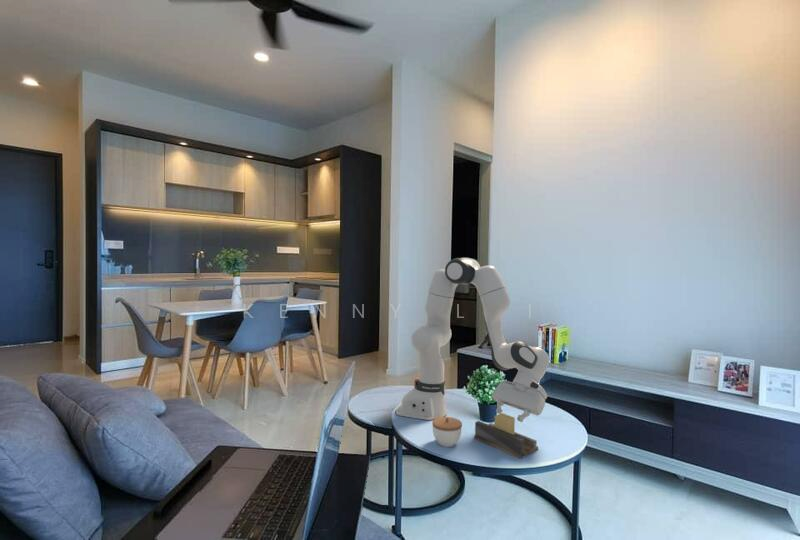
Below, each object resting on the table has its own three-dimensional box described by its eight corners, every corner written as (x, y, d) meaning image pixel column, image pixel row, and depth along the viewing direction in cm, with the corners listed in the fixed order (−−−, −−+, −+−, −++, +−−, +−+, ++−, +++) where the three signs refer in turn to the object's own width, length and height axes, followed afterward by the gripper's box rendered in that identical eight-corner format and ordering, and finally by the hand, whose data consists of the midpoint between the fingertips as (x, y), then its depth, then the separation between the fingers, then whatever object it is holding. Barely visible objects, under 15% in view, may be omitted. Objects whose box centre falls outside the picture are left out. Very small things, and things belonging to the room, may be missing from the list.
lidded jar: (455, 452, 141) (455, 425, 141) (427, 445, 146) (427, 419, 146) (465, 440, 150) (466, 415, 150) (439, 434, 155) (439, 410, 155)
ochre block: (501, 437, 151) (502, 413, 151) (514, 442, 147) (514, 417, 147) (494, 440, 149) (494, 415, 148) (506, 445, 144) (507, 420, 144)
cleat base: (492, 431, 159) (492, 415, 159) (538, 449, 144) (538, 432, 144) (474, 438, 152) (474, 422, 152) (519, 458, 137) (520, 441, 137)
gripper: (498, 374, 162) (482, 403, 156) (545, 387, 146) (529, 420, 140) (505, 383, 165) (489, 412, 159) (551, 397, 149) (535, 430, 143)
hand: (508, 416), depth 149 cm, fingers open, 8 cm apart
